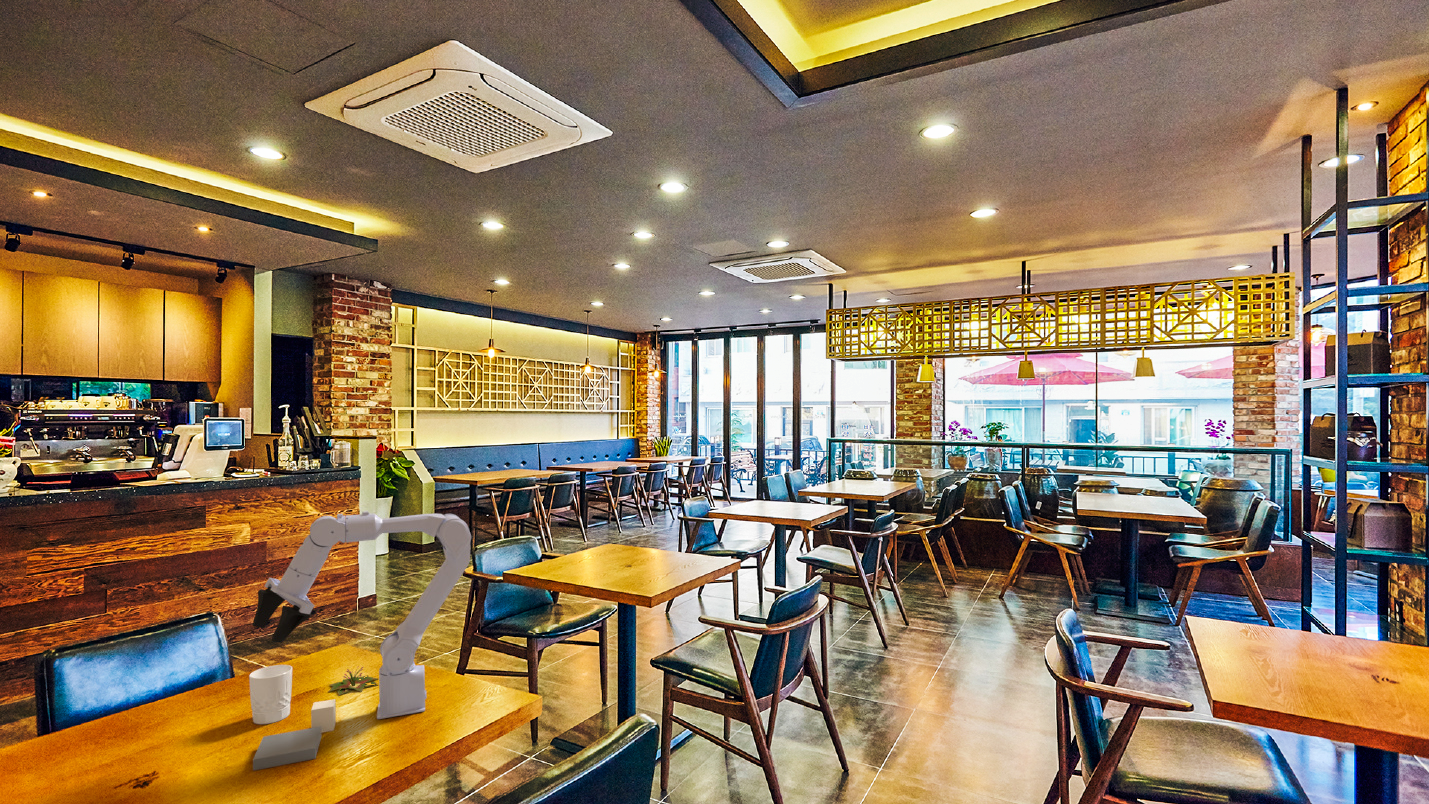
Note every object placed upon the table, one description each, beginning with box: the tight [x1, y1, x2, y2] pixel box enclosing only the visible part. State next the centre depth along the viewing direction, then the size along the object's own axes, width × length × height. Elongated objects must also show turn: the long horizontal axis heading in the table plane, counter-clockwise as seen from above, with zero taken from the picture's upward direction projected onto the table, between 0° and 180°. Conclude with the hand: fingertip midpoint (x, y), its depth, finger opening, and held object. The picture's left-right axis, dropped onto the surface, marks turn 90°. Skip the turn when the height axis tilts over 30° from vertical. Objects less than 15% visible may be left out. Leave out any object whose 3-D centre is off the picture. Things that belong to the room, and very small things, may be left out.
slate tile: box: [252, 727, 323, 771], centre depth 133 cm, size 10×10×2 cm
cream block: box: [310, 698, 337, 734], centre depth 144 cm, size 4×4×5 cm
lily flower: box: [327, 665, 378, 696], centre depth 166 cm, size 12×12×5 cm
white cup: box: [248, 664, 293, 725], centre depth 149 cm, size 8×8×10 cm
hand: (267, 634), depth 141 cm, fingers open, 7 cm apart
